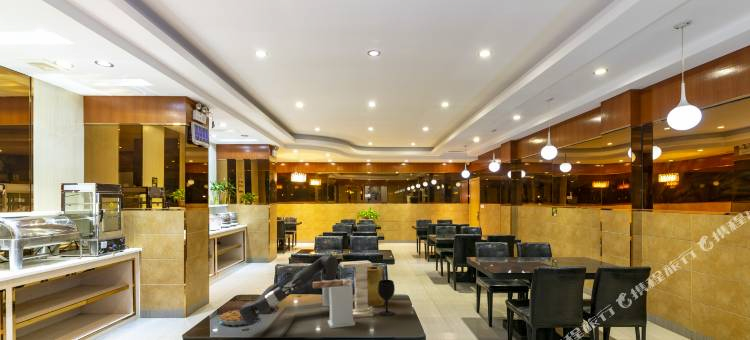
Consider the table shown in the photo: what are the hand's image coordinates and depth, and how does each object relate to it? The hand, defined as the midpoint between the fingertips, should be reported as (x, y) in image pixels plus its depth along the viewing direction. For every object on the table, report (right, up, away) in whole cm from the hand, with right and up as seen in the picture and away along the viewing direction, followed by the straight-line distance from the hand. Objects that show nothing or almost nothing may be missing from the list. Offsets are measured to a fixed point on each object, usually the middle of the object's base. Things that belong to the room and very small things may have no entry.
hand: (300, 280), depth 234 cm
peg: (+17, -5, +5) cm, 18 cm away
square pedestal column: (+31, -28, +23) cm, 47 cm away
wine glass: (+49, -27, +24) cm, 61 cm away
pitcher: (+41, -29, +47) cm, 69 cm away
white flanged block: (+22, -27, +5) cm, 35 cm away
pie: (-40, -29, +15) cm, 52 cm away
